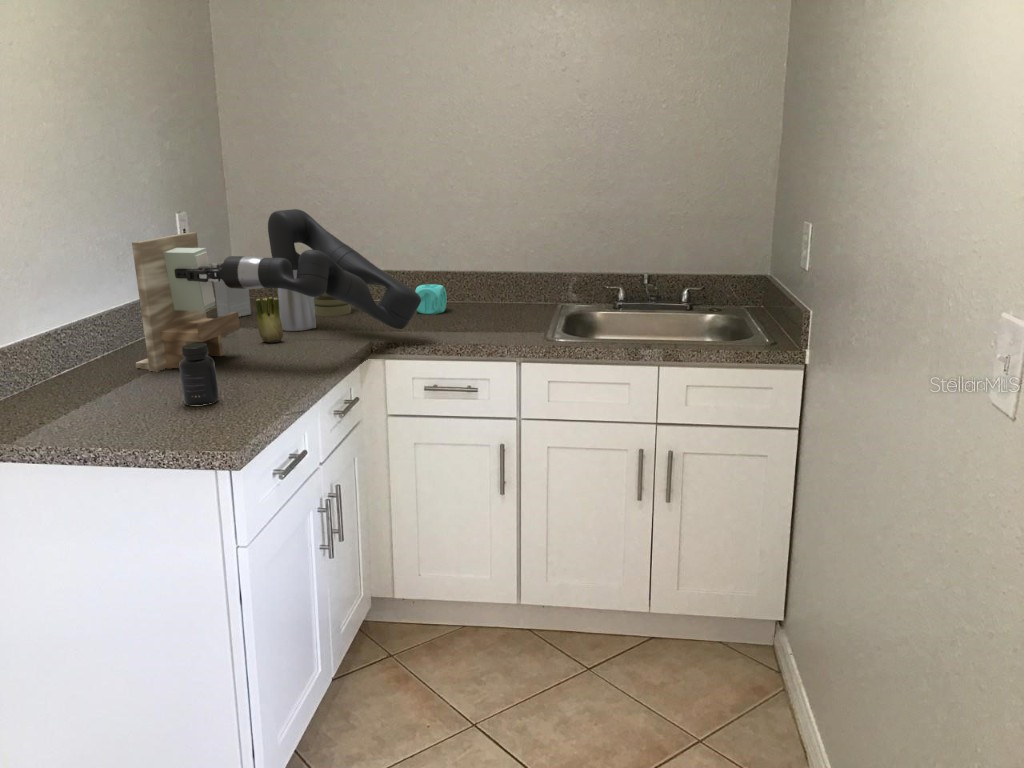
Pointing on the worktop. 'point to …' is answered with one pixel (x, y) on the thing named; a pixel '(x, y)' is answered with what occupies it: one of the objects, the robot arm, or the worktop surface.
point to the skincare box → (231, 300)
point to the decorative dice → (431, 299)
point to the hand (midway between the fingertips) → (183, 271)
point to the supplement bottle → (198, 375)
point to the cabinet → (184, 291)
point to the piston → (330, 306)
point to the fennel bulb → (269, 320)
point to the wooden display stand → (171, 308)
